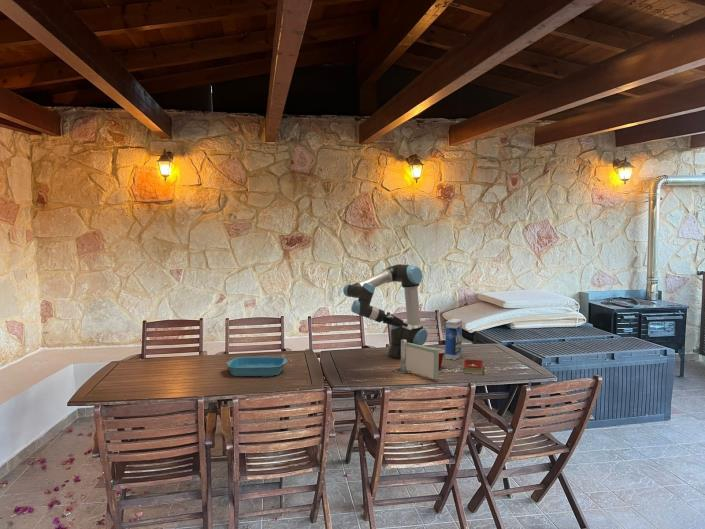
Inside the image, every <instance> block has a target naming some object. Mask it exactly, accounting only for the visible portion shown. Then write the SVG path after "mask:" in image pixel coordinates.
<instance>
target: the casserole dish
mask: <svg viewBox="0 0 705 529" xmlns="http://www.w3.org/2000/svg"><path fill="white" fill-rule="evenodd" d="M287 363H288V359H286V358H285V357H283V356H239V357H235V358H233V359H230V360H228V361H226V363H225V365H226V366H228V369H229V372H230V375H232V376H234V377H242V376H254V377H255V376H262V377H275V376H274V375H276V376H278V375H279V374H280V373H281V372H282V370H283V367H284V365H286V364H287Z"/></svg>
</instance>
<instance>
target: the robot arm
mask: <svg viewBox="0 0 705 529" xmlns="http://www.w3.org/2000/svg"><path fill="white" fill-rule="evenodd" d="M423 275H424V274H423V271H422V269H421V268H420V267H419V266H417V265H414V264H394V265H391V266H388V267H386V268H384V269H381V272H379V273H376V274H373V275H372V276H369V277H367V278H364V279H363V280H359V281H358V282H355V283H353V284H351V283H349V284H345V285H344V286H343V290H342V291H343V292H342V293H343V295H344V296H346V297H349V298H355V299H356V298H357V299H356V300H354V301H353V302H352V304H351V308H350V310H351V312H352V313H354V314H356V315H358V316H360V317H364V318H366V319H369V321H375V322H377V323H383V324H385V325H389V326H391V328H390V347H389V349H388V352H387V353H388V354H387V355H388V358H390V357H391V359H394V358H395V359H397V360H401V340H402V339H406V340H407V343H412V344H417V345H421V346H424V344H425V343H426V342H427V340H428V331H427V330H426V328H424V324H423V322H421V315H420V303H419V302H420V301H419V292H418V287H419V286H420V283H422V280H423ZM392 282H397V283H401V287H402V288H403V289H404V299H405V300H404V301H405V312H406V322H404V320H403V319H401V318H399V317H397V316H395V315H394V314H386V313H385V312H386V311H385V310H383V309H380V308H378V307H375V306H372V305H371V303H372V300H373V296H374V294H375V290H376V288H377V287H379V286H382V285H383V284H386V283H387V284H391V283H392Z"/></svg>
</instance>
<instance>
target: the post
mask: <svg viewBox="0 0 705 529" xmlns="http://www.w3.org/2000/svg"><path fill="white" fill-rule="evenodd" d="M406 343H407V340H406V339H402V340H401V359H400V367H399V368H396V369H394V372H396V371H397V373H399V372H401V373H400V374H403V373H404V374H403V375H405V373H406V374H409V373H412V372H411V371H408V370H406ZM408 372H409V373H408Z"/></svg>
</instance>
